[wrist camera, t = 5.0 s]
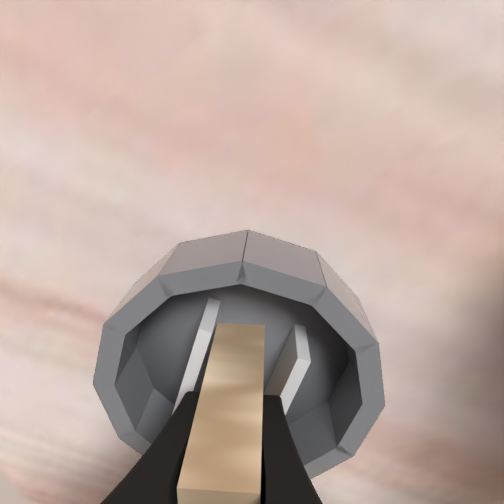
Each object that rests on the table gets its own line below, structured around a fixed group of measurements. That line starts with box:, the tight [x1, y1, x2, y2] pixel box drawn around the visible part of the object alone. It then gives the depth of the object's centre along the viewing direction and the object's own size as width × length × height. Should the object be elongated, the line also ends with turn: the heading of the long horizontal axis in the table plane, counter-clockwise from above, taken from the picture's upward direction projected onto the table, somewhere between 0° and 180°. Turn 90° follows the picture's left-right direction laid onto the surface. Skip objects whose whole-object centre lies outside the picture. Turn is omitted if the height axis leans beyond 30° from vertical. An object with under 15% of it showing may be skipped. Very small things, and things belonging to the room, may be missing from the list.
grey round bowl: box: [93, 230, 385, 479], centre depth 15 cm, size 11×11×3 cm
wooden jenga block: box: [177, 323, 265, 504], centre depth 12 cm, size 2×3×7 cm, turn 178°
